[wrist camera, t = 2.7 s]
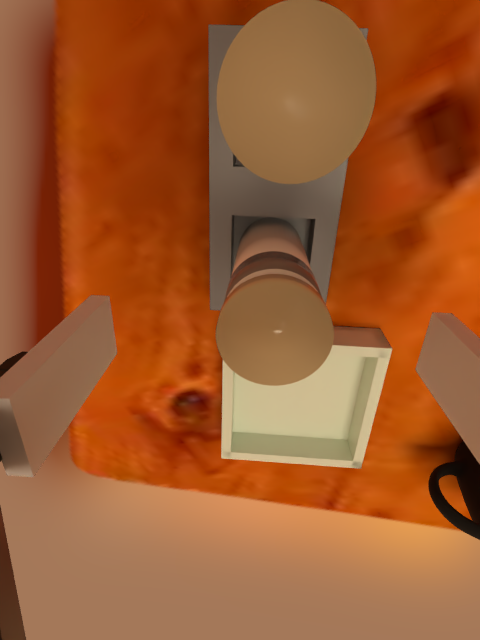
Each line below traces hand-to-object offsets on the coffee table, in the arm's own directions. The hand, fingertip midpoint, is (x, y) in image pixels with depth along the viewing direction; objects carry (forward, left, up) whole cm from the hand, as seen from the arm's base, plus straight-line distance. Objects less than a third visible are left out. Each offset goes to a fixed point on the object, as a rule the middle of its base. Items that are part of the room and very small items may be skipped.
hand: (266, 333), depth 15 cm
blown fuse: (0, 0, -12) cm, 12 cm away
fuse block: (-4, 0, -12) cm, 13 cm away
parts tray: (+12, +3, -12) cm, 17 cm away
